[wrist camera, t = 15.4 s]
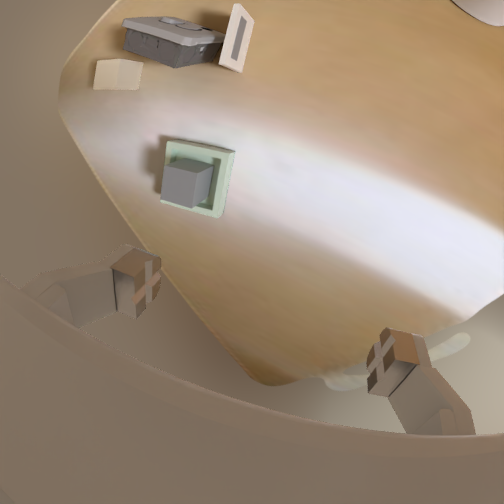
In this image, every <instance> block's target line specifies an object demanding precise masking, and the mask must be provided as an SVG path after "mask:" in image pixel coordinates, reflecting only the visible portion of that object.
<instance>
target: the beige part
mask: <svg viewBox="0 0 504 504" xmlns="http://www.w3.org/2000/svg"><path fill="white" fill-rule="evenodd" d="M143 63H144V62H138V61H132V60H126V59H109V60H99V61H97V66H96V72H95V78H94V85H93V90H139V84H140V78H141V73H142V68H143Z"/></svg>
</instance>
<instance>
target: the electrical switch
mask: <svg viewBox="0 0 504 504" xmlns="http://www.w3.org/2000/svg"><path fill="white" fill-rule="evenodd" d="M121 26H122V27H126V28H127V33H126V40H125V43H124V46H123V49H124V50H127V51H130V52H133V53H136V54H138V55H141V56H144V57H147V58H149V59H152V60H155V61H157V62H160V63H163V64H165V65H168V66H170V67H173V68H175V67H176V68H179V67H184V66H189V65H194V64H199V63H204V62H210V61H213V59H214V57H215V54H216V52H217V51H218V50H219V47H220V45H221V43H222V42H223V43H224V40H225V36H226V34H223V33H221V32H218V31H215V30H212V29H209V28H207V27H204V26H201V25H198V24H195V23H191V22H188V21H185V20H182V19H178V18H175V17H138V18H126V19H124V20H123V23H122V25H121ZM157 48H158V49H157ZM133 49H134V50H133ZM177 61H178V62H177ZM176 64H177V65H176Z"/></svg>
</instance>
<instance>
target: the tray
mask: <svg viewBox="0 0 504 504" xmlns="http://www.w3.org/2000/svg"><path fill="white" fill-rule="evenodd" d="M234 155H235V151H231V150H227V149H222V148H218V147H213V146H208V145H203V144H198V143H193V142H188V141H183V140H177V139H174V140H170V141H167V145H166V153H165V161H164V165H167V164H169V163H172V162H175V161H178V160H181V159H184V158H187V159H191V160H196V161H200V162H204V163H208V164H212V165H215V166H214V171H213V177H212V182H211V187H210V193H209V196H208V197H207V198H206V199H204V200H203V201H201V202H200V203H199V204H197V205H196V206H195V207H193V208H192V209H191V208H188V207H185V206H181V205H178V204H175V203H171V202H168V201H165V200H161V199H160V202H161V203H165V204H168V205H172V206H176V207H179V208H183V209H186V210H190V211H193V212H197V213H200V214H204V215H207V216H211V217H214V218H218V217H219V216H221V215H222V214H223V212H224V207H225V202H226V196H227V191H228V186H229V180H230V175H231V170H232V165H233V160H234ZM163 173H164V169H163ZM162 181H163V178H162ZM161 189H162V188H161Z"/></svg>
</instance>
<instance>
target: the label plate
mask: <svg viewBox="0 0 504 504" xmlns="http://www.w3.org/2000/svg"><path fill="white" fill-rule="evenodd" d="M254 22H255V21H254V20H253V19H252V17H251V16H250V15H249V14H248V13H247V11H246V10H245V9H244V8H243V7H242V6H241V4H234V6H233V9H232V13H231V17H230V20H229V24H228V28H227V32H226V36H225V40H224V44H223V48H222V52H221V56H220V61H219V64H220V65H222V66H224V67H226V68H229V69H231V70H233V71H235V72H237V73H242V70H243V66H244V62H245V58H246V54H247V49H248V45H249V41H250V37H251V33H252V29H253V26H254Z"/></svg>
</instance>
